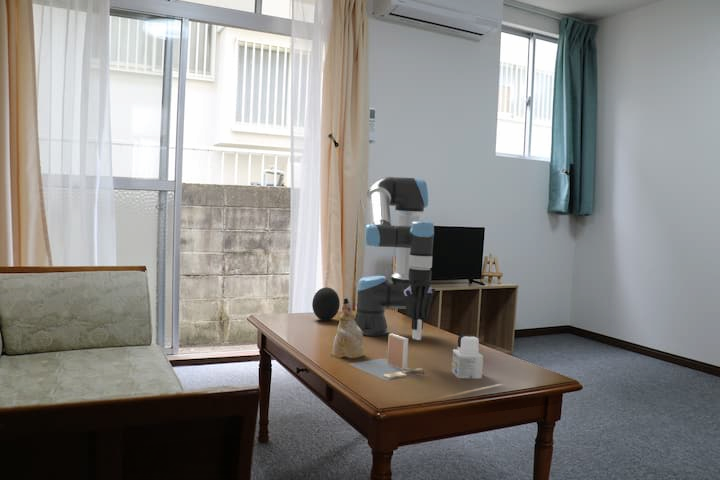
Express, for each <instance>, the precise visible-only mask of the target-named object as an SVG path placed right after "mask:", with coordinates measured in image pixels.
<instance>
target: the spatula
mask: <svg viewBox="0 0 720 480" xmlns="http://www.w3.org/2000/svg"><path fill="white" fill-rule="evenodd" d="M410 369H411V370H405V371H401V372H396V373H390V374H384V375H383V377H385V378H387V379H393V380H395V379H394V378H398V379H400V378H399V377H404V378H406V377H405V376H407V375H410V374H416V373H424V370H425V369H424V368H422V367H417V368H413V369H412V368H410Z"/></svg>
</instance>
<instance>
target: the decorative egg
mask: <svg viewBox="0 0 720 480" xmlns="http://www.w3.org/2000/svg"><path fill="white" fill-rule="evenodd" d="M311 302H312V303H311V305H312V311H313V313H314V315H315V316H316V317H317V319H320V320H322V321H325V322H326V321H330V320H333V318H335V316H337V314H338V312H339V310H340V304H341V303H340V302H341V301H340V297H339V295H338V293H337V292H336V290H334V289H333V288H331V287H321V288H320V289H318V290H317V292H316V293H315V294H314V296H313V299H312V301H311Z"/></svg>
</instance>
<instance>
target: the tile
mask: <svg viewBox="0 0 720 480" xmlns="http://www.w3.org/2000/svg"><path fill="white" fill-rule="evenodd" d="M408 349H409V338H408V337H404V336H402V335H398V334H394V333H388V341H387V357H386V359H387V364H389V365H391V366H394V367H396V368H399V369H401V370H407V368H408V354H409V352H408Z"/></svg>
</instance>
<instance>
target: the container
mask: <svg viewBox="0 0 720 480" xmlns="http://www.w3.org/2000/svg"><path fill="white" fill-rule="evenodd" d="M479 349H480V338H479V337H478V336H476V335H474V334H461V335H459V336H458V337H457V348H456V349H455V348H454V349H452V359H451V361H452V363H451V372H452V373H453V374H454V375H455V377H456V378H457V379H479V380H480V379H481V380H482V379H483V367H484V364H483V363H484V355H483V354H481V353H480V352H479Z"/></svg>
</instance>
